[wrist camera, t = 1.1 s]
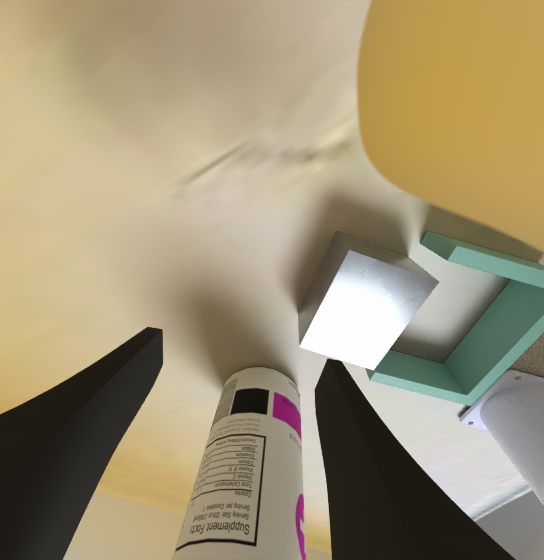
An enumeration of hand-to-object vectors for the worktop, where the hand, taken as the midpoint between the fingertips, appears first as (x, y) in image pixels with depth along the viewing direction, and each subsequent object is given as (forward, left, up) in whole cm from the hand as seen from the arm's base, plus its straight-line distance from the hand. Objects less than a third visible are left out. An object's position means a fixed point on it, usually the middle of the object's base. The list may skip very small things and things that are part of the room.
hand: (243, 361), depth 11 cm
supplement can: (-3, +14, -11) cm, 18 cm away
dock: (-15, 0, -10) cm, 18 cm away
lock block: (-7, 0, -11) cm, 13 cm away
